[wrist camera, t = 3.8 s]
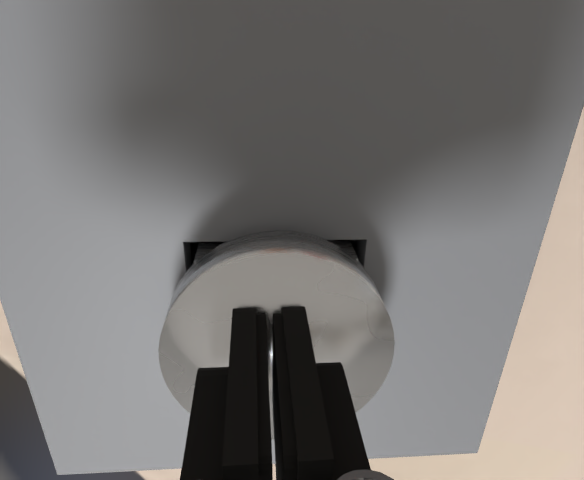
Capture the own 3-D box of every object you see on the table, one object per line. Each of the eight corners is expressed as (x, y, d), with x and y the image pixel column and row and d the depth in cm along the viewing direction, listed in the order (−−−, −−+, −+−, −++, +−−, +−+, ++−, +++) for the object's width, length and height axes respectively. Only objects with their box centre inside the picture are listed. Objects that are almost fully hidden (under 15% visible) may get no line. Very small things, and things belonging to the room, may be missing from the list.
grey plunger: (352, 168, 15) (410, 252, 9) (341, 304, 17) (381, 435, 12) (186, 168, 14) (143, 257, 9) (199, 307, 17) (171, 444, 11)
